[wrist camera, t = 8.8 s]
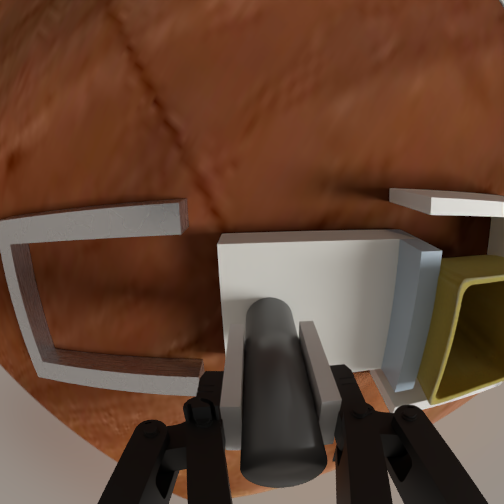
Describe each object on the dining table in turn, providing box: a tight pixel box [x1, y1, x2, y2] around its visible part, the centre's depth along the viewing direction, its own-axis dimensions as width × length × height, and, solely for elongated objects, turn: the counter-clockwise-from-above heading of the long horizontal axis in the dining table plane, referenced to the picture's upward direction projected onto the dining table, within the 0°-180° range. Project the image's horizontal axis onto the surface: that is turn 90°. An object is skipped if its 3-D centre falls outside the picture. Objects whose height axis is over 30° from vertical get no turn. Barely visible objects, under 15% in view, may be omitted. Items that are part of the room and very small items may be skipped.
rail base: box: [0, 198, 205, 396], centre depth 22 cm, size 16×15×2 cm
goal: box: [370, 188, 504, 413], centre depth 20 cm, size 12×16×6 cm
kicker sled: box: [217, 229, 442, 488], centre depth 16 cm, size 13×10×15 cm
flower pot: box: [417, 255, 504, 405], centre depth 19 cm, size 9×9×9 cm
